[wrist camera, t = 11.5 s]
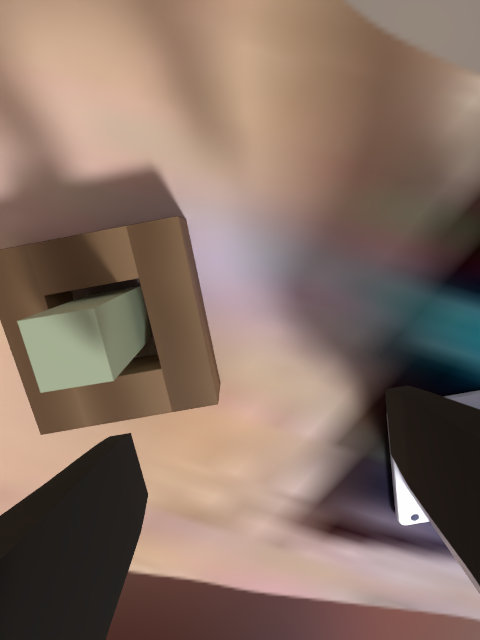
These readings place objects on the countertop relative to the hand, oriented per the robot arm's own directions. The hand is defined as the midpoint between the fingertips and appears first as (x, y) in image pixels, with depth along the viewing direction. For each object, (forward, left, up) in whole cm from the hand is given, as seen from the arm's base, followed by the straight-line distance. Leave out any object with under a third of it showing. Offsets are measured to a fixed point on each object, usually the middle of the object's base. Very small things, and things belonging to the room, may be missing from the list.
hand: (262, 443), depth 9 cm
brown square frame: (+7, -2, -9) cm, 12 cm away
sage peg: (+7, -3, -9) cm, 12 cm away
